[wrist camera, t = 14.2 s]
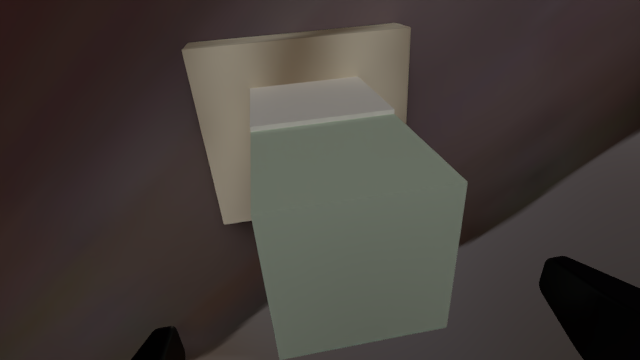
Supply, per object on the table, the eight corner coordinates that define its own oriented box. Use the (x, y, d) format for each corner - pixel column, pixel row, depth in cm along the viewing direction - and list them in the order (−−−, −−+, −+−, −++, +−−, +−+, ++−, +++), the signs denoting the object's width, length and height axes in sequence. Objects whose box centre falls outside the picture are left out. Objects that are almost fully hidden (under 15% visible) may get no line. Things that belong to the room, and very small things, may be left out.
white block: (358, 76, 17) (394, 109, 13) (359, 170, 20) (390, 225, 15) (249, 88, 17) (249, 127, 12) (265, 184, 19) (270, 244, 15)
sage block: (394, 113, 13) (467, 182, 8) (390, 228, 15) (446, 327, 11) (250, 132, 12) (250, 215, 8) (270, 248, 15) (279, 360, 10)
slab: (395, 22, 18) (410, 27, 16) (390, 180, 23) (402, 197, 21) (188, 42, 17) (181, 49, 15) (226, 204, 21) (224, 224, 20)
